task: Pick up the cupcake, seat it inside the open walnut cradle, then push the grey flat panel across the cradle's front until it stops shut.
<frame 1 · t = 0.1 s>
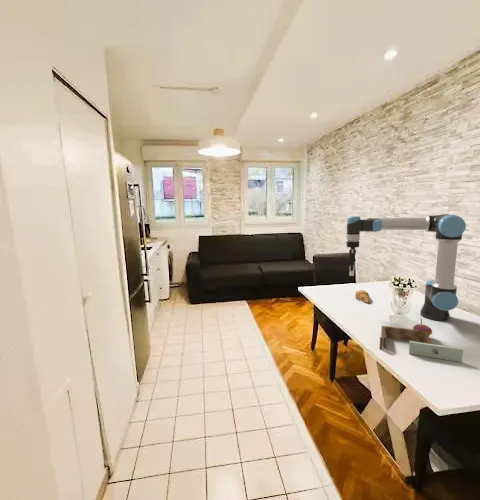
hand: (351, 273, 173), 28 cm above the table, fingers open, 13 cm apart
croissant: (362, 299, 205), on the table
cupcake: (421, 338, 144), on the table
holder: (404, 345, 137), on the table
grey flat panel: (435, 351, 124), point 3 cm above the table, slide at 11.0 cm
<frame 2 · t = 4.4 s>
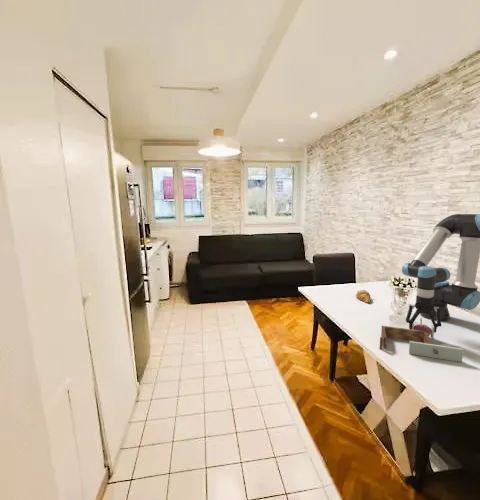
hand: (421, 336, 144), 1 cm above the table, fingers closed on cupcake, 8 cm apart
cupcake: (421, 338, 144), on the table, touching gripper
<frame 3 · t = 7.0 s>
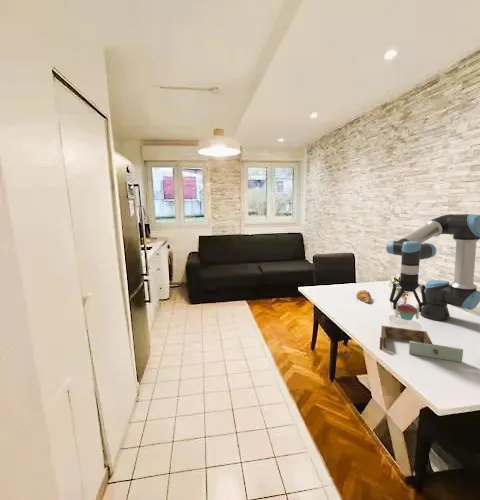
hand: (406, 316, 134), 15 cm above the table, fingers closed on cupcake, 8 cm apart
cupcake: (406, 318, 134), point 14 cm above the table, touching gripper
when the fingers open (3 cm above the table, at t = 9.6 s): cupcake drops 2 cm, on the table.
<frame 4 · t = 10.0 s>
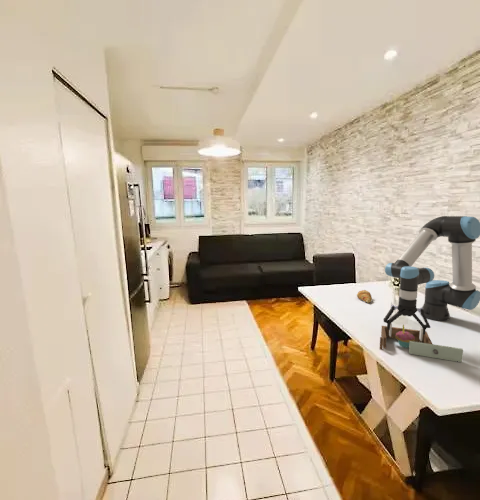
hand: (405, 337, 136), 4 cm above the table, fingers open, 13 cm apart
cupcake: (404, 345, 137), on the table
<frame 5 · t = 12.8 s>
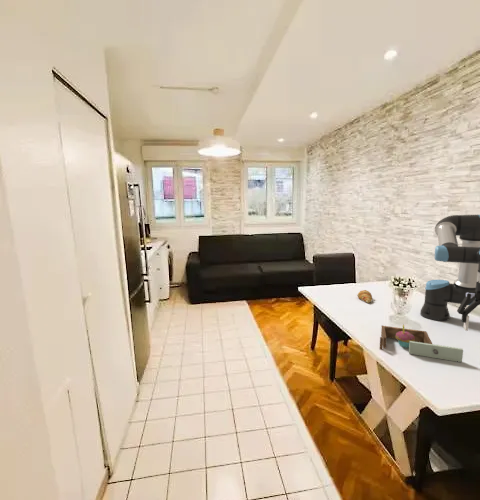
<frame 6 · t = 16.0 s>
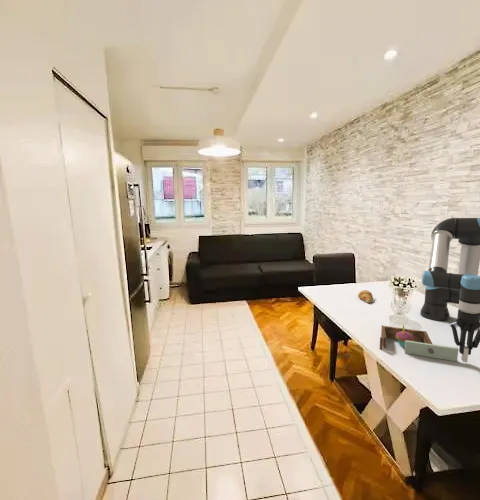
hand: (464, 360, 120), 1 cm above the table, fingers closed
grey flat panel: (430, 351, 125), point 3 cm above the table, slide at 9.2 cm, touching gripper
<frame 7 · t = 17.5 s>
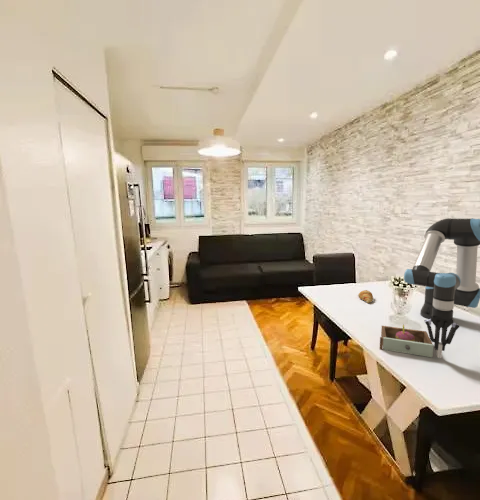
hand: (438, 356, 124), 1 cm above the table, fingers closed
grey flat panel: (407, 347, 129), point 3 cm above the table, slide at -0.1 cm, touching gripper
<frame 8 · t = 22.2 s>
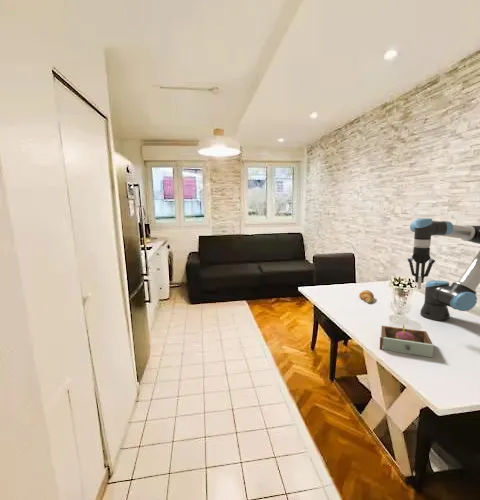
hand: (418, 288, 150), 24 cm above the table, fingers closed
grey flat panel: (407, 347, 129), point 3 cm above the table, slide at 0.0 cm
at the end: cupcake inside the target area on the holder (0.1 cm from its centre), point 0.0 cm above the holder's base; cupcake tilted 0°; grey flat panel slide at 0.0 cm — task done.
